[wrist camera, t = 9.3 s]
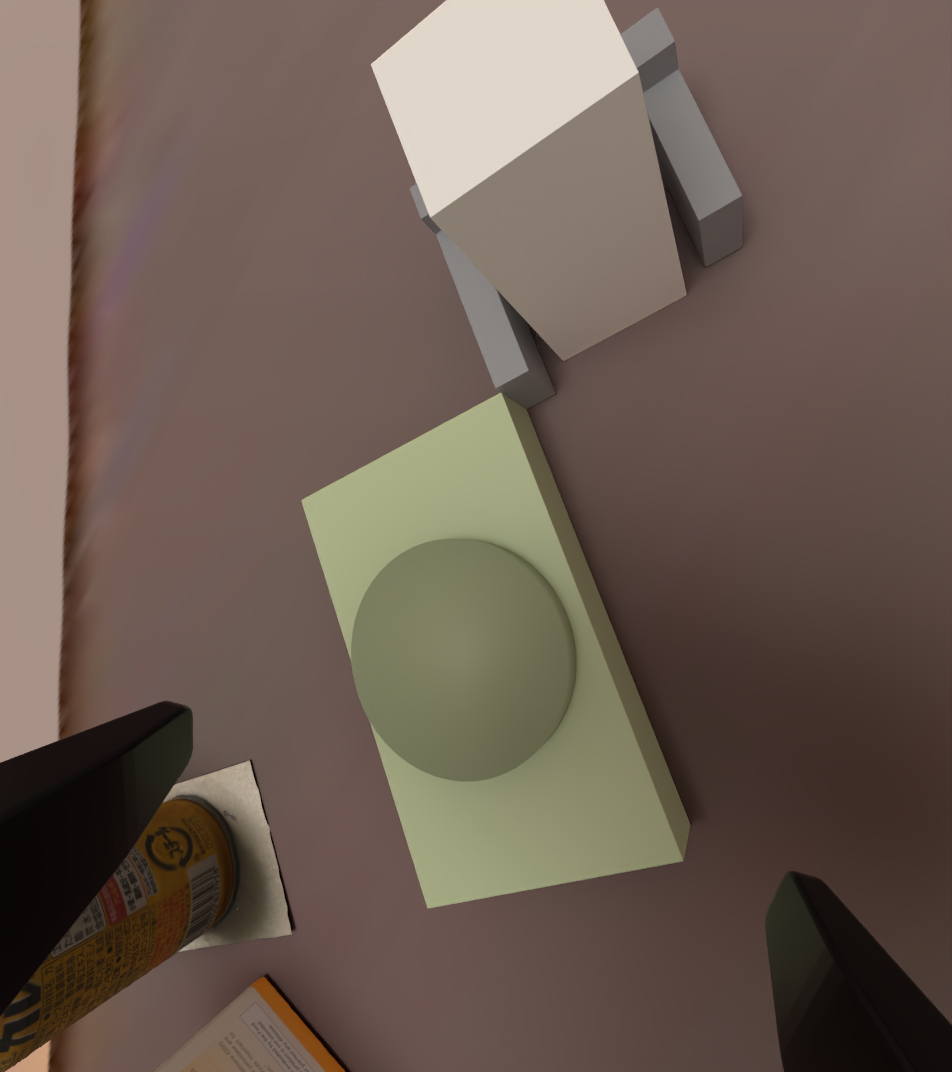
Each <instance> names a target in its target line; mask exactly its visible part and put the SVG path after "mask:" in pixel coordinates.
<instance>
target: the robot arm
mask: <svg viewBox="0 0 952 1072" xmlns="http://www.w3.org/2000/svg"><path fill="white" fill-rule="evenodd" d="M192 751H193V715H192V711H191V709H190V708H189V707H188V706H185V705H182V704H178V703H174V702H171V701H163V702H159V703H157V704H154V705H151V706H149V707H146V708H144V709H141V710H138V711H136V712H133V713H130V714H128V715H125V716H122V717H120V718H117V719H114V720H112V721H109V722H107V723H104V724H101V725H99V726H96V727H93V728H91V729H88V730H85V731H83V732H80V733H77V734H75V735H72V736H70V737H67V738H64V739H62V740H59V741H56V742H54V743H51V744H49V745H46V746H43V747H41V748H38V749H35V750H33V751H30V752H27V753H25V754H22V755H20V756H17V757H14V758H11V759H9V760H7V761H4V762H1V763H0V1017H1V1016H2V1014H3V1013H4V1012H5V1010H6V1009H7V1008H8V1007H9V1005H10V1004H11V1003H12V1002H13V1000H14V999H15V998H16V997H17V995H18V994H19V993H20V992H21V990H22V989H23V988H24V986H25V985H26V984H27V983H28V981H29V980H30V979H31V978H32V976H33V975H34V974H35V973H36V971H37V970H38V969H39V968H40V966H41V965H42V964H43V962H44V961H45V960H46V959H47V957H48V956H49V955H50V954H51V952H52V951H53V950H54V949H55V947H56V946H57V945H58V944H59V942H60V941H61V940H62V938H63V937H64V936H65V935H66V933H67V932H68V931H69V930H70V928H71V927H72V926H73V925H74V923H75V922H76V921H77V919H78V918H79V917H80V916H81V914H82V913H83V912H84V911H85V909H86V908H87V907H88V906H89V904H90V903H91V902H92V901H93V899H94V898H95V897H96V895H97V894H98V893H99V892H100V890H101V889H102V888H103V887H104V885H105V884H106V883H107V882H108V880H109V879H110V878H111V877H112V875H113V874H114V873H115V871H116V870H117V869H118V868H119V866H120V865H121V864H122V862H123V861H124V860H125V858H126V857H127V856H128V854H129V853H130V851H131V850H132V849H133V847H134V846H135V844H136V843H137V841H138V840H139V838H140V837H141V835H142V834H143V832H144V831H145V829H146V828H147V826H148V824H149V823H150V821H151V820H152V818H153V817H154V815H155V814H156V812H157V811H158V809H159V808H160V806H161V804H162V803H163V801H164V800H165V798H166V797H167V795H168V794H169V792H170V791H171V789H172V788H173V786H174V784H175V783H176V781H177V780H178V778H179V777H180V775H181V774H182V772H183V771H184V769H185V768H186V766H187V764H188V762H189V760H190V758H191V755H192ZM765 930H766V939H767V947H768V956H769V964H770V972H771V981H772V989H773V998H774V1006H775V1015H776V1023H777V1032H778V1039H779V1046H780V1053H781V1059H782V1064H783V1069H784V1072H952V1025H951V1023H950V1022H949V1021H948V1020H947V1019H946V1018H945V1017H944V1016H943V1014H942V1013H941V1012H940V1011H939V1010H938V1009H937V1008H936V1007H935V1006H934V1004H933V1003H932V1002H931V1001H930V1000H929V999H928V998H927V997H926V995H925V994H924V993H923V992H922V991H921V990H920V989H919V988H918V987H917V985H916V984H915V983H914V982H913V981H912V980H911V979H910V978H909V976H908V975H907V974H906V973H905V972H904V971H903V970H902V969H901V967H900V966H899V965H898V964H897V963H896V962H895V961H894V960H893V959H892V957H891V956H890V955H889V954H888V953H887V952H886V951H885V950H884V948H883V947H882V946H881V945H880V944H879V943H878V942H877V941H876V940H875V938H874V937H873V936H872V935H871V934H870V933H869V932H868V931H867V929H866V928H865V927H864V926H863V925H862V924H861V923H860V922H859V921H858V919H857V918H856V917H855V916H854V915H853V914H852V913H851V912H850V910H849V909H848V908H847V907H846V906H845V905H844V904H843V903H842V901H841V900H840V899H839V898H838V897H837V896H836V895H835V894H834V893H833V891H832V890H831V889H830V888H829V887H828V886H827V885H826V884H825V883H824V882H823V881H822V880H821V879H819V878H817V877H814V876H810V875H806V874H803V873H799V872H795V871H789V872H787V873H786V874H785V875H784V877H783V879H782V881H781V883H780V885H779V887H778V889H777V891H776V893H775V895H774V897H773V899H772V902H771V904H770V906H769V908H768V910H767V914H766V920H765Z"/></svg>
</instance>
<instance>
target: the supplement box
mask: <svg viewBox="0 0 952 1072" xmlns="http://www.w3.org/2000/svg"><path fill="white" fill-rule="evenodd" d="M153 1072H345V1070H344V1069H343V1068H342V1067H341V1066H340V1065H339V1064H338V1063H337V1061H336V1060H335V1059H334V1058H333V1057H332V1056H331V1055H330V1054H329V1052H328V1051H327V1050H326V1049H325V1047H324V1046H323V1045H322V1044H321V1042H320V1041H319V1040H318V1039H317V1038H316V1037H315V1035H314V1034H313V1033H312V1032H311V1031H310V1030H309V1028H308V1027H307V1026H306V1025H305V1024H304V1023H303V1021H302V1020H301V1019H300V1018H299V1016H298V1015H297V1014H296V1013H295V1012H294V1011H293V1010H292V1009H291V1008H290V1006H289V1004H288V1003H287V1002H286V1001H285V1000H284V999H283V998H282V996H281V995H280V994H279V993H278V992H277V991H276V989H275V988H274V987H273V986H272V985H271V984H270V982H269V981H268V980H267V979H266V978H265V977H261V978H259V979H258V980H256V981H255V982H254V983H253V984H252V985H250V986H249V987H248V988H247V989H246V990H245V991H244V992H242V993H241V994H240V995H239V996H238V997H237V998H236V999H235V1000H233V1001H232V1002H231V1003H230V1004H229V1005H228V1006H227V1007H226V1008H224V1009H223V1010H222V1011H221V1012H220V1013H219V1014H217V1015H216V1016H215V1017H214V1018H213V1019H212V1020H211V1021H210V1022H209V1023H207V1024H206V1025H205V1026H204V1027H203V1028H202V1029H201V1030H199V1031H198V1032H197V1033H196V1034H195V1035H194V1036H193V1037H192V1038H190V1039H189V1040H188V1041H187V1042H186V1043H185V1044H184V1045H183V1046H181V1047H180V1048H179V1049H178V1050H177V1051H176V1052H175V1053H173V1054H172V1055H171V1056H170V1057H169V1058H168V1059H166V1060H165V1061H164V1062H163V1063H162V1064H161V1065H160V1066H159V1067H158V1068H157V1069H156V1070H155V1071H153Z"/></svg>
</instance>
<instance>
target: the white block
mask: <svg viewBox="0 0 952 1072" xmlns="http://www.w3.org/2000/svg"><path fill="white" fill-rule="evenodd" d="M371 66H372V69H373V71H374V74H375V76H376V79H377V82H378V84H379V87H380V89H381V92H382V94H383V97H384V100H385V102H386V105H387V107H388V110H389V113H390V115H391V118H392V120H393V123H394V125H395V128H396V131H397V133H398V136H399V138H400V141H401V144H402V146H403V149H404V151H405V154H406V157H407V159H408V162H409V164H410V167H411V169H412V172H413V175H414V177H415V180H416V182H417V185H418V188H419V190H420V193H421V195H422V198H423V200H424V203H425V206H426V208H427V211H428V213H429V216H430V218H431V219H432V220H433V221H434V222H435V223H436V225H437V226H438V227H439V228H440V229H441V230H442V231H443V232H444V233H445V234H446V235H447V236H448V237H449V239H450V240H451V241H452V242H453V243H454V244H455V245H456V246H457V247H458V248H459V249H460V250H461V251H462V253H463V254H464V255H465V256H466V257H467V258H468V259H469V260H470V261H471V262H472V263H473V264H474V265H475V267H476V268H477V269H478V270H479V271H480V272H481V273H482V274H483V275H484V276H485V277H486V278H487V279H488V281H489V282H490V283H491V284H492V285H493V286H494V287H495V288H496V289H497V290H498V291H499V292H500V293H501V295H502V296H503V297H504V298H505V299H506V300H507V301H508V302H509V303H510V304H511V305H512V306H513V307H514V309H515V310H516V311H517V312H518V313H519V314H520V315H521V316H522V317H523V318H524V319H525V320H526V321H527V323H528V324H529V325H530V326H531V327H532V328H533V329H534V330H535V331H536V332H537V333H538V334H539V335H540V337H541V338H542V339H543V340H544V341H545V342H546V343H547V344H548V345H549V346H550V347H551V348H552V349H553V351H554V352H555V353H556V354H557V355H558V356H559V357H560V358H561V359H562V360H563V361H565V360H567V359H569V358H571V357H573V356H575V355H576V354H578V353H580V352H582V351H584V350H586V349H588V348H589V347H591V346H593V345H595V344H597V343H599V342H601V341H602V340H604V339H606V338H608V337H610V336H612V335H614V334H616V333H617V332H619V331H621V330H623V329H625V328H627V327H629V326H630V325H632V324H634V323H636V322H638V321H640V320H642V319H643V318H645V317H647V316H649V315H651V314H653V313H655V312H657V311H658V310H660V309H662V308H664V307H666V306H668V305H670V304H671V303H673V302H675V301H677V300H679V299H681V298H683V297H684V296H686V295H687V293H686V289H685V284H684V279H683V275H682V270H681V265H680V261H679V256H678V252H677V247H676V242H675V238H674V233H673V229H672V224H671V219H670V215H669V210H668V206H667V201H666V196H665V192H664V187H663V183H662V178H661V173H660V169H659V164H658V159H657V155H656V150H655V146H654V141H653V136H652V132H651V127H650V123H649V118H648V113H647V109H646V104H645V100H644V95H643V90H642V86H641V81H640V76H639V72H638V70H637V68H636V66H635V64H634V62H633V60H632V58H631V56H630V54H629V52H628V50H627V48H626V45H625V43H624V41H623V39H622V37H621V35H620V33H619V31H618V29H617V27H616V25H615V23H614V21H613V19H612V17H611V15H610V13H609V11H608V9H607V6H606V4H605V2H604V0H446V1H445V2H444V3H443V4H442V5H440V6H439V7H438V8H437V9H436V10H434V11H433V12H432V13H431V14H430V15H429V16H427V17H426V18H425V19H424V20H423V21H422V22H420V23H419V24H418V25H417V26H416V27H414V28H413V29H412V30H411V31H410V32H409V33H407V34H406V35H405V36H404V37H403V38H401V39H400V40H399V41H398V42H397V43H396V44H394V45H393V46H392V47H391V48H390V49H388V50H387V51H386V52H385V53H384V54H383V55H381V56H380V57H379V58H378V59H377V60H375V61H374V62H373V63H372V64H371Z"/></svg>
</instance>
